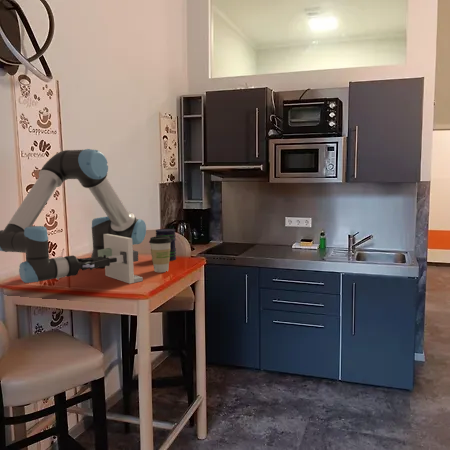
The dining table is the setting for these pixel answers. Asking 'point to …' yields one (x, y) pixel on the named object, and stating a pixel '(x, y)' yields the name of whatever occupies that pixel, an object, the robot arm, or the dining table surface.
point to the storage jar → (172, 236)
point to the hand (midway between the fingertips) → (122, 258)
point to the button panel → (121, 269)
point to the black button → (135, 256)
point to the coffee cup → (160, 252)
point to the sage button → (105, 252)
